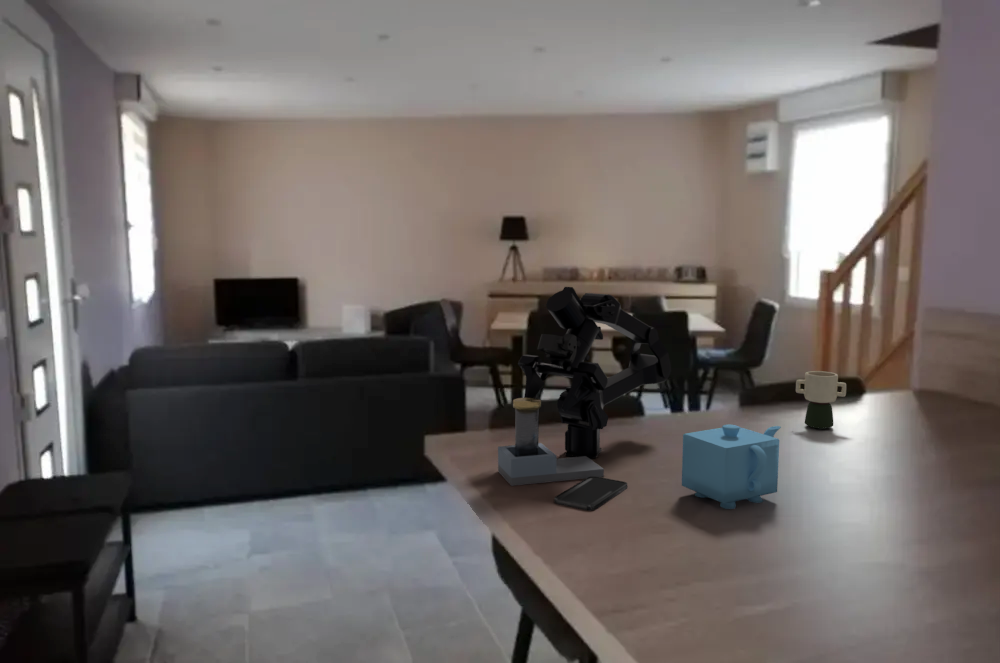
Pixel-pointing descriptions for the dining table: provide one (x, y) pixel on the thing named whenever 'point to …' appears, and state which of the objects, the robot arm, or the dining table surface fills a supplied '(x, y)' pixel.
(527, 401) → the pin
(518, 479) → the hitch socket
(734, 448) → the teapot
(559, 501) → the phone
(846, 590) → the dining table surface
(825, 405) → the trophy cup
